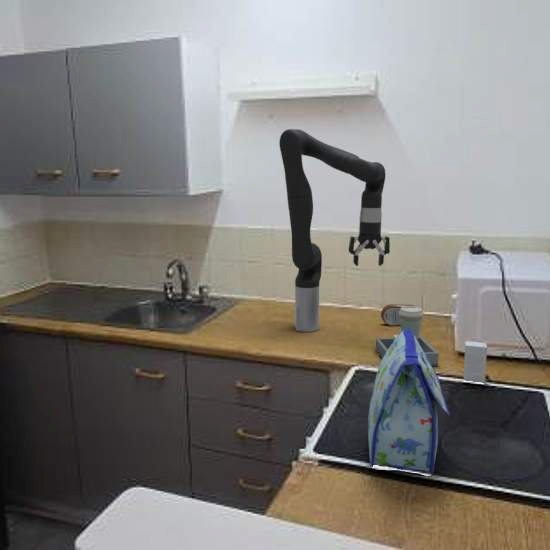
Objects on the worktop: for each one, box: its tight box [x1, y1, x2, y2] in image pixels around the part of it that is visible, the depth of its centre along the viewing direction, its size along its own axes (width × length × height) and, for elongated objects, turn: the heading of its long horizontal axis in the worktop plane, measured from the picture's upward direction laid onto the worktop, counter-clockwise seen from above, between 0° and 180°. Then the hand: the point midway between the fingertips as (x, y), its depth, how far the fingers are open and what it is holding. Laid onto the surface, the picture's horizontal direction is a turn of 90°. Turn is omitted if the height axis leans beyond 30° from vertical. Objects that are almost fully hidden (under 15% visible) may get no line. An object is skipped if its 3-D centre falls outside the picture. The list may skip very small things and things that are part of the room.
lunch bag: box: [367, 329, 451, 475], centre depth 125 cm, size 22×17×26 cm
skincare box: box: [463, 340, 488, 384], centre depth 163 cm, size 6×4×12 cm
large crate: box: [375, 336, 439, 368], centre depth 183 cm, size 16×16×4 cm
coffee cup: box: [399, 305, 424, 337], centre depth 199 cm, size 8×8×12 cm
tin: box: [380, 303, 415, 327], centre depth 217 cm, size 15×3×8 cm, turn 84°
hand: (368, 265), depth 198 cm, fingers open, 8 cm apart
